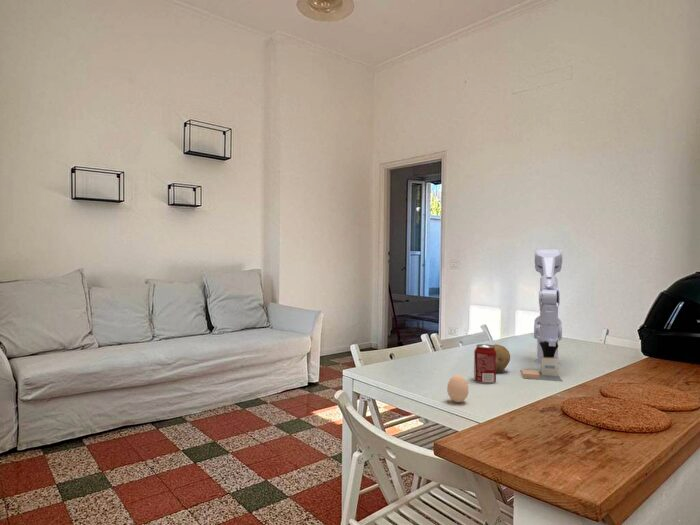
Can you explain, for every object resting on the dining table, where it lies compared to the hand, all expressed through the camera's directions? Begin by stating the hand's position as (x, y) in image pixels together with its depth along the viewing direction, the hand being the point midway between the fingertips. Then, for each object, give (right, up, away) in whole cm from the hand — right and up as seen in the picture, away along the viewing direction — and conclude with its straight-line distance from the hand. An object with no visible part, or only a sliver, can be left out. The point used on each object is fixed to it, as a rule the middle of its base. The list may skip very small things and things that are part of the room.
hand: (548, 363), depth 157 cm
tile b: (0, -4, -2) cm, 4 cm away
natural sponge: (-17, -4, +3) cm, 18 cm away
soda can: (-25, -4, -10) cm, 27 cm away
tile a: (-7, -3, -1) cm, 7 cm away
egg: (-38, -4, -30) cm, 49 cm away
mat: (-4, -4, -2) cm, 6 cm away
